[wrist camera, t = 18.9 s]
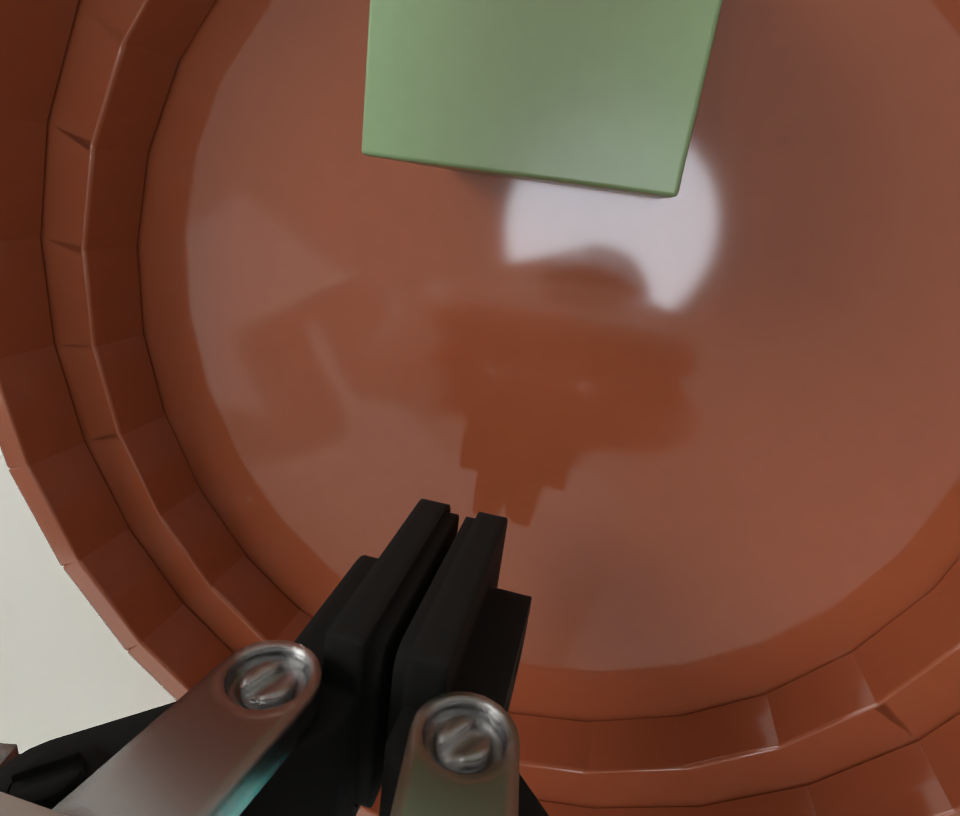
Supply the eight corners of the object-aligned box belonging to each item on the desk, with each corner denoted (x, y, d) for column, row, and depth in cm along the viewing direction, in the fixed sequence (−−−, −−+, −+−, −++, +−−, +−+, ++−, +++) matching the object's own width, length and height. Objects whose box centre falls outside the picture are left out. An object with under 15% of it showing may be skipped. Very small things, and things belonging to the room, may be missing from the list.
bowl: (137, 626, 18) (31, 715, 15) (48, -304, 11) (-192, -509, 8) (894, 856, 15) (966, 1041, 11) (1535, -346, 7) (2265, -791, 4)
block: (448, 169, 11) (359, 154, 8) (475, -88, 10) (382, -253, 6) (664, 199, 11) (677, 198, 7) (725, -73, 9) (781, -251, 6)
